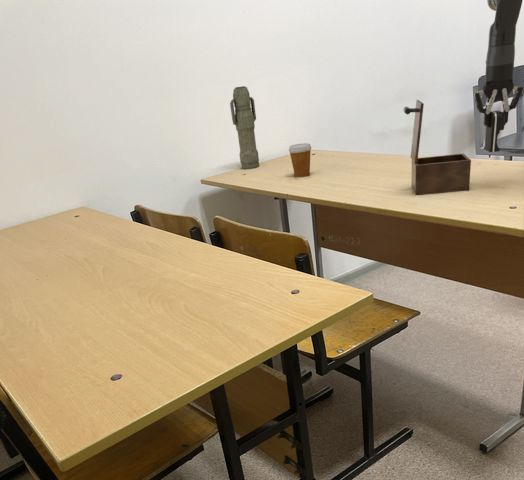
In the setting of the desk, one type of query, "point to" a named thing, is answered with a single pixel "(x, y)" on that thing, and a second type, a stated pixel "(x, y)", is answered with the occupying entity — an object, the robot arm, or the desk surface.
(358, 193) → the desk surface
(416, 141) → the lid
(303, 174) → the disposable coffee cup
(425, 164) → the chest
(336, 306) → the desk surface
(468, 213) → the desk surface
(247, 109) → the stone idol statue
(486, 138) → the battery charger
